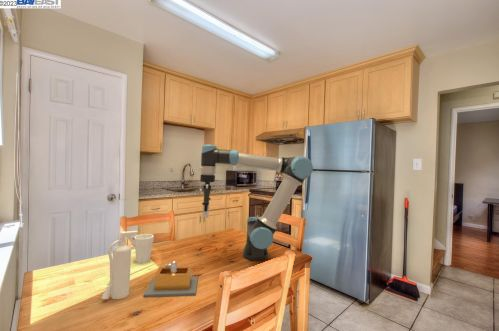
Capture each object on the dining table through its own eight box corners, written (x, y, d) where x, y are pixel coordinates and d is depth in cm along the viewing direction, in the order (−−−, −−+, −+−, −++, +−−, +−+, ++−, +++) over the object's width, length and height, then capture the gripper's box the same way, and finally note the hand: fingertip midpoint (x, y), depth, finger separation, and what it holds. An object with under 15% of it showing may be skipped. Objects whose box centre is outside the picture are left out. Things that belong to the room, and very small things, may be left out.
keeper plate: (197, 278, 109) (197, 276, 109) (195, 295, 95) (195, 292, 95) (152, 279, 106) (152, 277, 106) (143, 297, 92) (143, 294, 92)
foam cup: (145, 265, 120) (146, 240, 120) (129, 263, 121) (130, 238, 121) (156, 258, 129) (157, 234, 129) (141, 256, 131) (142, 233, 131)
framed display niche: (191, 279, 106) (191, 266, 106) (189, 289, 98) (190, 274, 98) (158, 280, 103) (159, 267, 103) (154, 290, 96) (154, 275, 96)
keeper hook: (176, 283, 102) (177, 259, 102) (175, 286, 100) (176, 262, 99) (164, 283, 101) (165, 259, 101) (163, 286, 99) (164, 262, 99)
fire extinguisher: (96, 298, 89) (102, 233, 90) (128, 287, 99) (133, 228, 99) (103, 305, 85) (110, 237, 86) (136, 293, 95) (142, 231, 95)
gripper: (201, 172, 135) (199, 209, 135) (199, 175, 110) (197, 220, 110) (214, 173, 136) (213, 210, 136) (215, 175, 111) (213, 220, 111)
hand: (205, 214), depth 123 cm, fingers open, 13 cm apart
